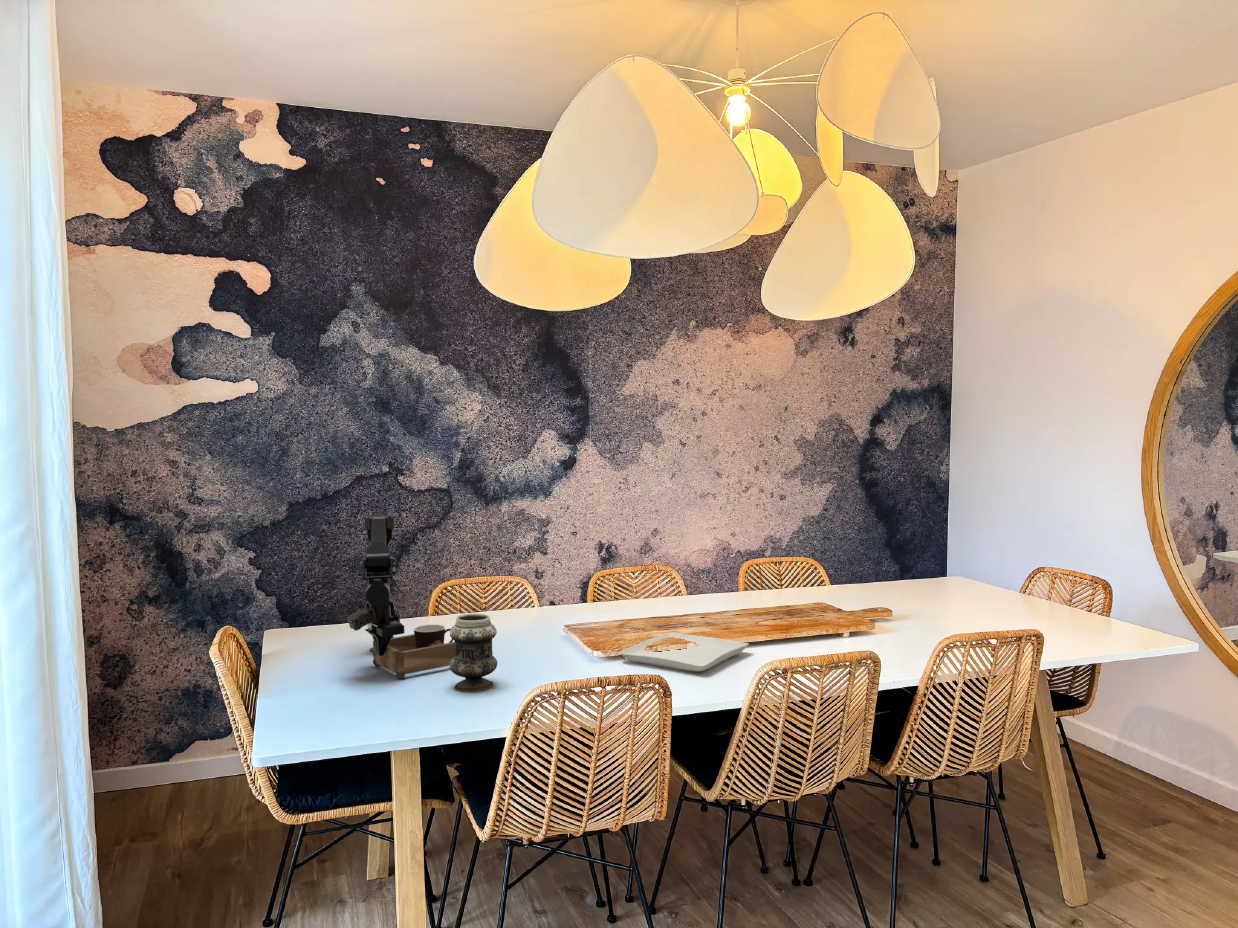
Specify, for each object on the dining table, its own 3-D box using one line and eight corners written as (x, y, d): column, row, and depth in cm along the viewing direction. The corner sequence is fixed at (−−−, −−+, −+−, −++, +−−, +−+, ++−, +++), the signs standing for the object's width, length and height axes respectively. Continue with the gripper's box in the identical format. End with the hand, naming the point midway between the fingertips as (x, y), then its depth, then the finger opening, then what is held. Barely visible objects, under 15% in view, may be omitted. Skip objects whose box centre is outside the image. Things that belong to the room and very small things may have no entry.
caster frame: (371, 665, 255) (370, 641, 254) (442, 652, 268) (441, 628, 267) (398, 680, 241) (397, 654, 240) (471, 665, 253) (470, 640, 253)
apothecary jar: (507, 685, 235) (505, 616, 234) (468, 696, 226) (466, 624, 225) (479, 676, 243) (477, 609, 242) (440, 686, 235) (438, 616, 234)
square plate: (750, 655, 261) (750, 641, 261) (703, 679, 239) (703, 664, 239) (668, 642, 277) (668, 629, 276) (617, 664, 254) (617, 650, 254)
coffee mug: (415, 669, 251) (414, 633, 250) (413, 660, 259) (412, 625, 259) (458, 665, 254) (457, 629, 254) (455, 657, 262) (454, 622, 262)
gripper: (337, 596, 249) (339, 653, 250) (363, 608, 234) (365, 668, 235) (376, 591, 255) (378, 646, 256) (404, 602, 240) (406, 660, 241)
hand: (380, 655), depth 247 cm, fingers closed
